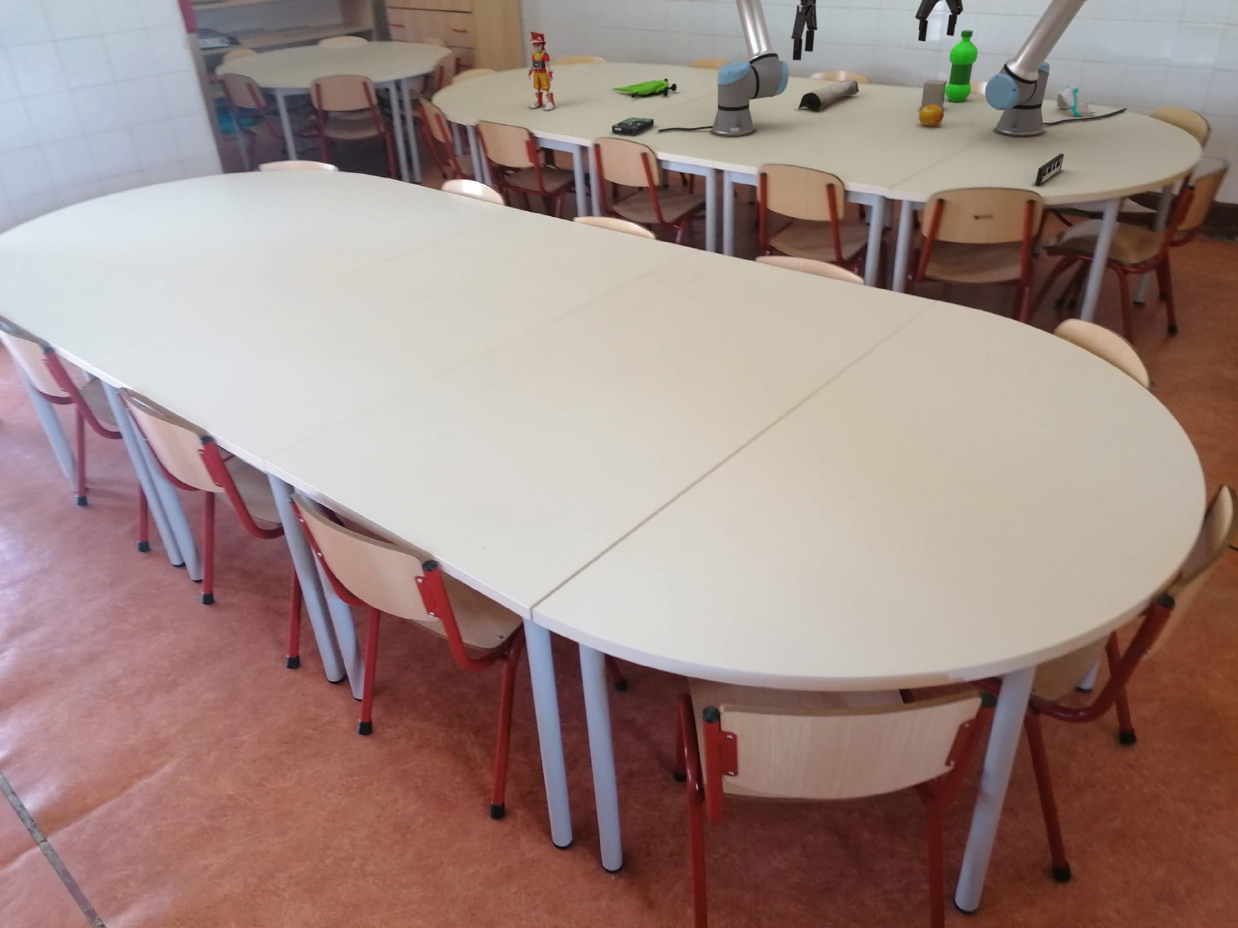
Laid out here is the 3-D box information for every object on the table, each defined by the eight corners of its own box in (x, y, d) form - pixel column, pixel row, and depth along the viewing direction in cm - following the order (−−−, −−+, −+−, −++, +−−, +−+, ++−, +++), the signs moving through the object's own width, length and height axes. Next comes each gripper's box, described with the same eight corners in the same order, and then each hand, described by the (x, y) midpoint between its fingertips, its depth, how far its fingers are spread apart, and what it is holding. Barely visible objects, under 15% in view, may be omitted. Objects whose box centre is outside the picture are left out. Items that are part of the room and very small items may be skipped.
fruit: (913, 117, 326) (928, 97, 323) (915, 120, 333) (929, 101, 330) (933, 130, 324) (947, 110, 321) (933, 133, 332) (948, 113, 329)
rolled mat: (834, 85, 375) (850, 69, 367) (846, 103, 376) (863, 88, 367) (794, 103, 358) (811, 87, 350) (807, 122, 358) (824, 107, 350)
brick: (920, 110, 347) (924, 83, 341) (924, 107, 351) (927, 80, 345) (939, 112, 344) (943, 84, 338) (942, 108, 348) (946, 81, 342)
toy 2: (686, 85, 398) (631, 84, 414) (685, 72, 395) (629, 72, 411) (651, 104, 381) (596, 103, 397) (650, 92, 378) (594, 91, 394)
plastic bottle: (975, 99, 356) (987, 30, 342) (958, 104, 351) (969, 35, 337) (955, 95, 363) (965, 28, 349) (937, 100, 358) (947, 32, 344)
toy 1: (525, 109, 381) (517, 32, 364) (534, 104, 388) (527, 28, 371) (550, 110, 377) (543, 32, 360) (559, 105, 384) (553, 28, 367)
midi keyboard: (1039, 185, 269) (1043, 168, 266) (1035, 184, 270) (1038, 168, 267) (1060, 170, 279) (1064, 154, 277) (1056, 169, 280) (1060, 153, 277)
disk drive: (634, 136, 338) (654, 126, 348) (634, 128, 336) (654, 118, 346) (611, 133, 343) (631, 123, 353) (611, 126, 341) (631, 116, 351)
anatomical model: (1050, 84, 335) (1077, 77, 334) (1049, 112, 341) (1076, 105, 340) (1070, 94, 323) (1098, 86, 322) (1069, 123, 328) (1096, 115, 328)
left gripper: (807, -8, 282) (802, 64, 295) (829, -20, 300) (824, 48, 313) (784, -8, 285) (780, 63, 298) (808, -21, 303) (803, 47, 316)
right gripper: (926, -26, 292) (917, 44, 304) (980, -34, 302) (969, 34, 314) (909, -28, 298) (901, 42, 310) (963, -36, 307) (953, 32, 320)
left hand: (802, 55), depth 305 cm, fingers open, 13 cm apart
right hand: (936, 38), depth 312 cm, fingers open, 13 cm apart
